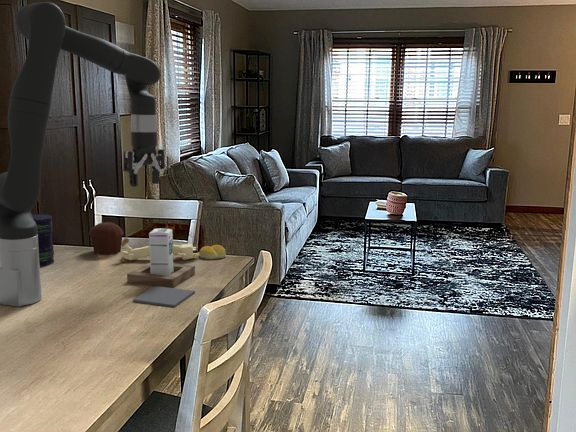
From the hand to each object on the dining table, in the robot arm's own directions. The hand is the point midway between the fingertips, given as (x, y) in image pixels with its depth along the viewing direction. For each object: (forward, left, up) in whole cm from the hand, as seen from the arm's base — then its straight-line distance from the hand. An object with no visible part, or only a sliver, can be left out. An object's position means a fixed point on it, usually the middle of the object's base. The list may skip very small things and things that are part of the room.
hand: (145, 185), depth 173 cm
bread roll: (+24, -12, -27) cm, 38 cm away
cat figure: (+13, +2, -27) cm, 30 cm away
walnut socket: (-5, -8, -27) cm, 28 cm away
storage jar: (-5, +36, -27) cm, 46 cm away
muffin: (+15, +24, -27) cm, 40 cm away
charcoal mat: (-20, -17, -27) cm, 37 cm away
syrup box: (-5, -8, -27) cm, 28 cm away
